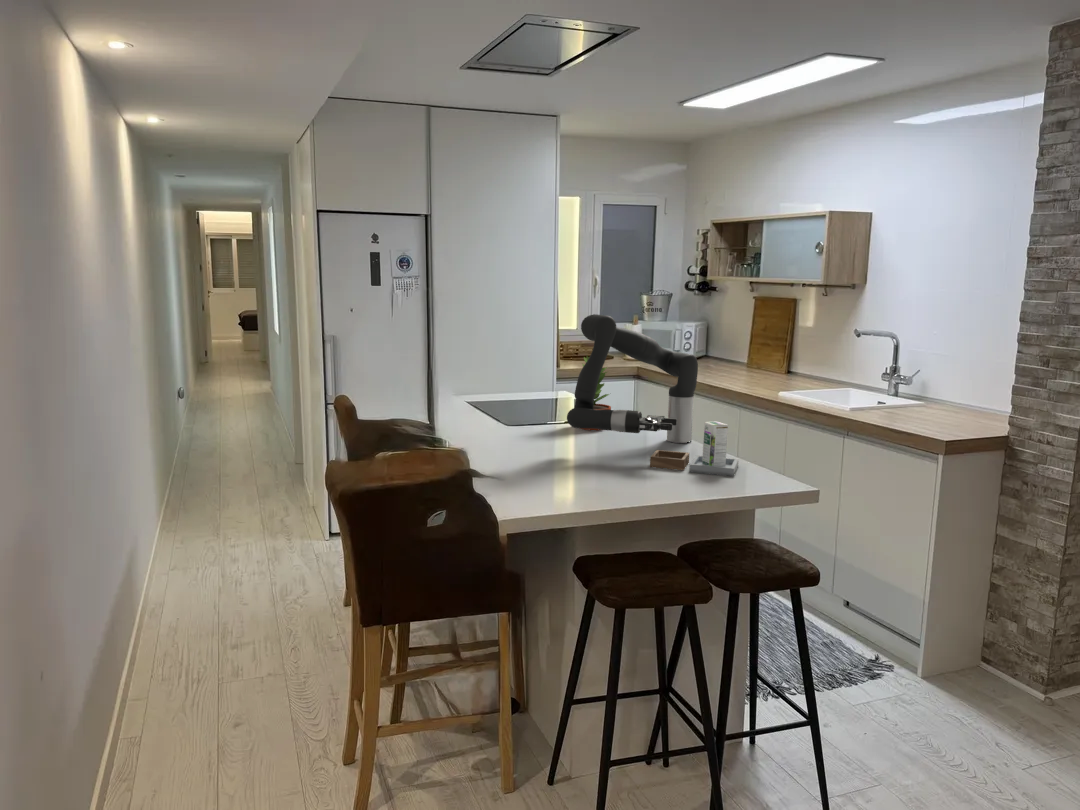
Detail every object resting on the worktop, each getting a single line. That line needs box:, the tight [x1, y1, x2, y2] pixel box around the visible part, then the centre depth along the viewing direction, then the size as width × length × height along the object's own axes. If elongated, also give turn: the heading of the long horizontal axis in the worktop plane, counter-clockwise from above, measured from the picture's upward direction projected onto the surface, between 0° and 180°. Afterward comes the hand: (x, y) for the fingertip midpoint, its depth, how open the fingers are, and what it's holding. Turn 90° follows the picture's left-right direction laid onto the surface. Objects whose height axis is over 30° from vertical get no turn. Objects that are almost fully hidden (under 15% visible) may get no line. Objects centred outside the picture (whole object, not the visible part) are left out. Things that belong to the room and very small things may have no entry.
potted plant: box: [580, 354, 612, 431], centre depth 326 cm, size 15×15×30 cm
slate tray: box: [688, 454, 740, 477], centre depth 264 cm, size 14×14×2 cm
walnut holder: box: [649, 449, 690, 471], centre depth 269 cm, size 11×11×4 cm
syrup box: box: [702, 420, 729, 467], centre depth 263 cm, size 6×6×14 cm
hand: (674, 424), depth 268 cm, fingers open, 8 cm apart
